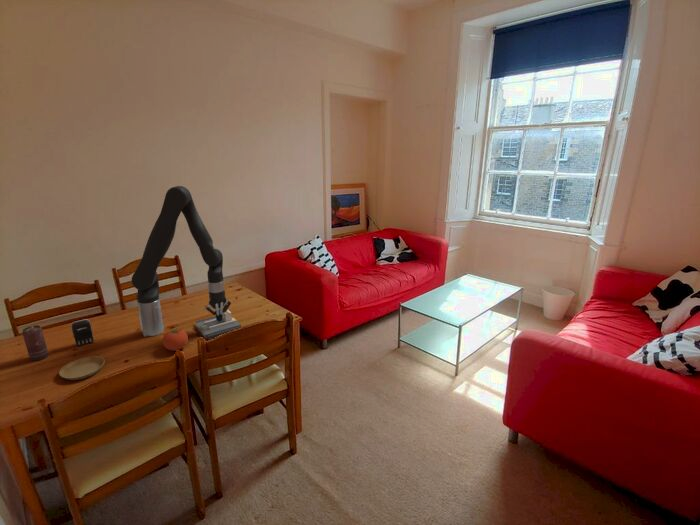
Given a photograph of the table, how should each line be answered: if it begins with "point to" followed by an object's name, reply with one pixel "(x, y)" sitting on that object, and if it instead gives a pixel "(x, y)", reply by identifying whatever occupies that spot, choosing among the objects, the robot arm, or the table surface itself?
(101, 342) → the table surface
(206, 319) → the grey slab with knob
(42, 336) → the can
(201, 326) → the panel
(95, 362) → the plant saucer
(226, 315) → the breaker lever
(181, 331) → the tomato
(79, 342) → the battery charger
